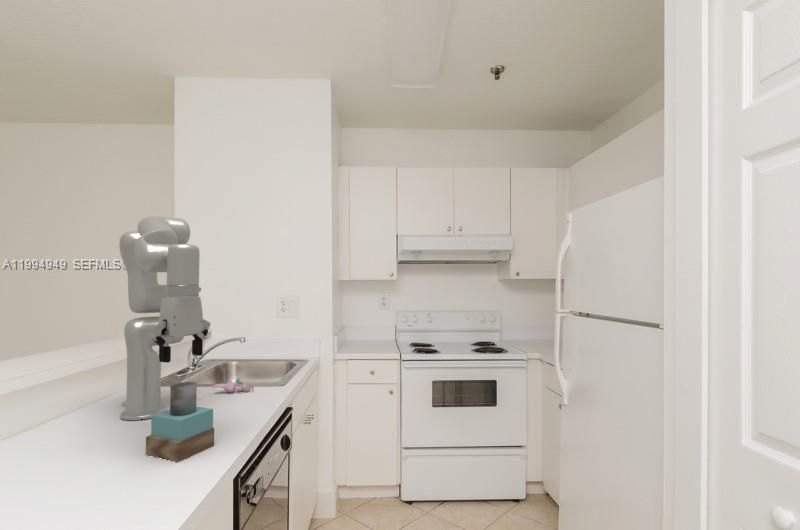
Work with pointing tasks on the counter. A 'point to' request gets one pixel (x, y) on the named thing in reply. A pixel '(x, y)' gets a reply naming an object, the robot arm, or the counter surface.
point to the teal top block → (181, 424)
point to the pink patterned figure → (231, 386)
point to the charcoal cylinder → (183, 398)
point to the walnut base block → (179, 446)
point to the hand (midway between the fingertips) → (181, 358)
